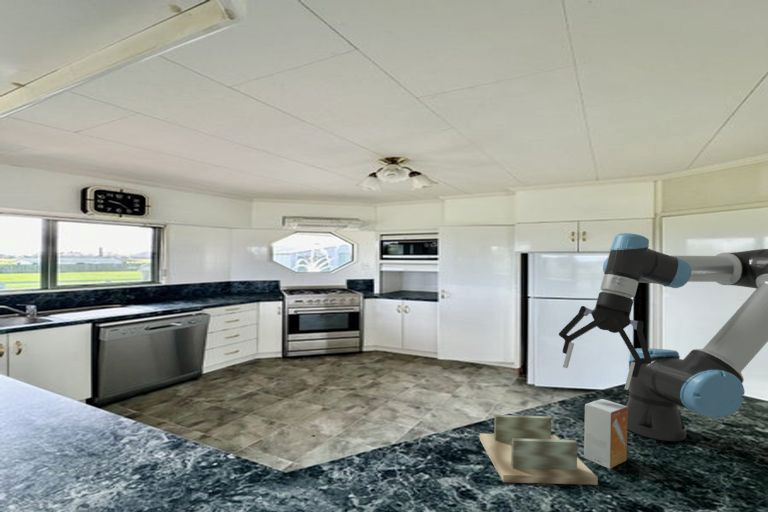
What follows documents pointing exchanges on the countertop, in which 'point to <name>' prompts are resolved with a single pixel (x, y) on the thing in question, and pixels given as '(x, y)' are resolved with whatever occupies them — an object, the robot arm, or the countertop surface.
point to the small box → (605, 433)
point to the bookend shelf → (534, 452)
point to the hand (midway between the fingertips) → (594, 377)
